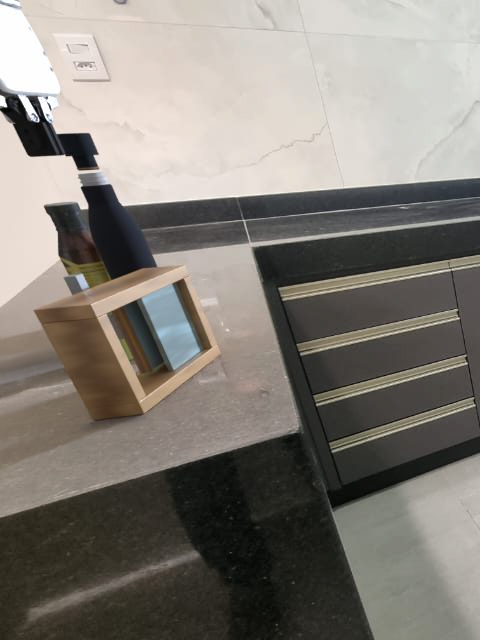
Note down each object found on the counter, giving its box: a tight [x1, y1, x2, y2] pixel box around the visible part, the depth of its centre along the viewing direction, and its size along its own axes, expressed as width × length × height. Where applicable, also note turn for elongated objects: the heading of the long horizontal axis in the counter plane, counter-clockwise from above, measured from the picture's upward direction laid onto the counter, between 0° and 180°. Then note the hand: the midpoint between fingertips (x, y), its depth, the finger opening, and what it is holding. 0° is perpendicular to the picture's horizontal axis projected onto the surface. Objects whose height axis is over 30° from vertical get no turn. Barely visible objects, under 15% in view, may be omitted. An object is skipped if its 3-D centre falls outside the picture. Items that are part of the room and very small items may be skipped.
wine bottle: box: [56, 132, 158, 280], centre depth 88 cm, size 6×6×30 cm
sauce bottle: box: [43, 201, 111, 288], centre depth 90 cm, size 7×6×20 cm
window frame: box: [33, 264, 222, 421], centre depth 65 cm, size 5×18×13 cm, turn 13°
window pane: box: [63, 274, 164, 374], centre depth 66 cm, size 4×8×13 cm, turn 13°
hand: (47, 155), depth 70 cm, fingers closed
